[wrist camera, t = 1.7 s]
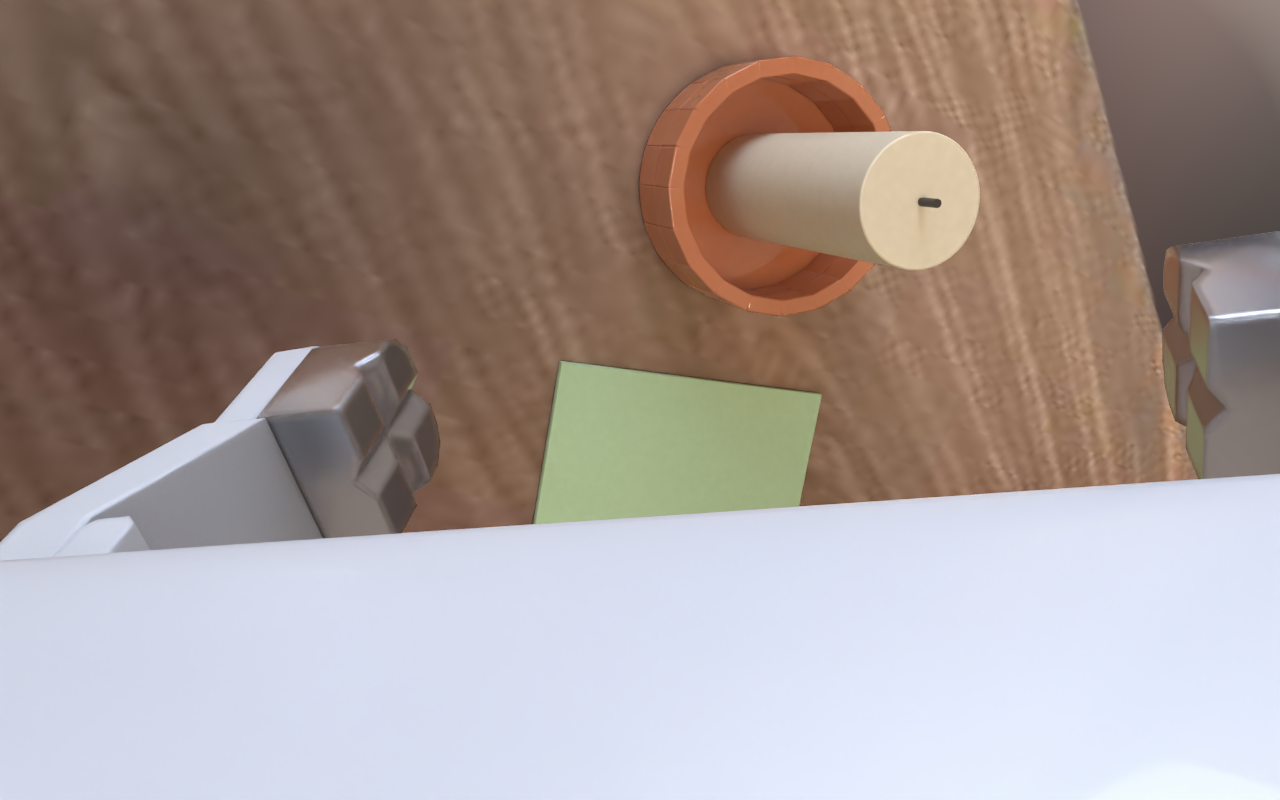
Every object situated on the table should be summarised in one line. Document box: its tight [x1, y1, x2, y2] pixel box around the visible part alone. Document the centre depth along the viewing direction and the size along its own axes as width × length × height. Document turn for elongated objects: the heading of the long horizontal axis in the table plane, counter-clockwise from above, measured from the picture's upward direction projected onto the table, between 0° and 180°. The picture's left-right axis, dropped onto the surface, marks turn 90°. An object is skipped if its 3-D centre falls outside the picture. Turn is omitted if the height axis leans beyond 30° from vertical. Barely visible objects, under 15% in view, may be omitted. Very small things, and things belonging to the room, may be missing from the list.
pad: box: [533, 361, 822, 524], centre depth 53 cm, size 14×13×1 cm
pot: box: [639, 56, 891, 316], centre depth 48 cm, size 11×11×4 cm
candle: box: [706, 131, 980, 271], centre depth 43 cm, size 5×5×15 cm
